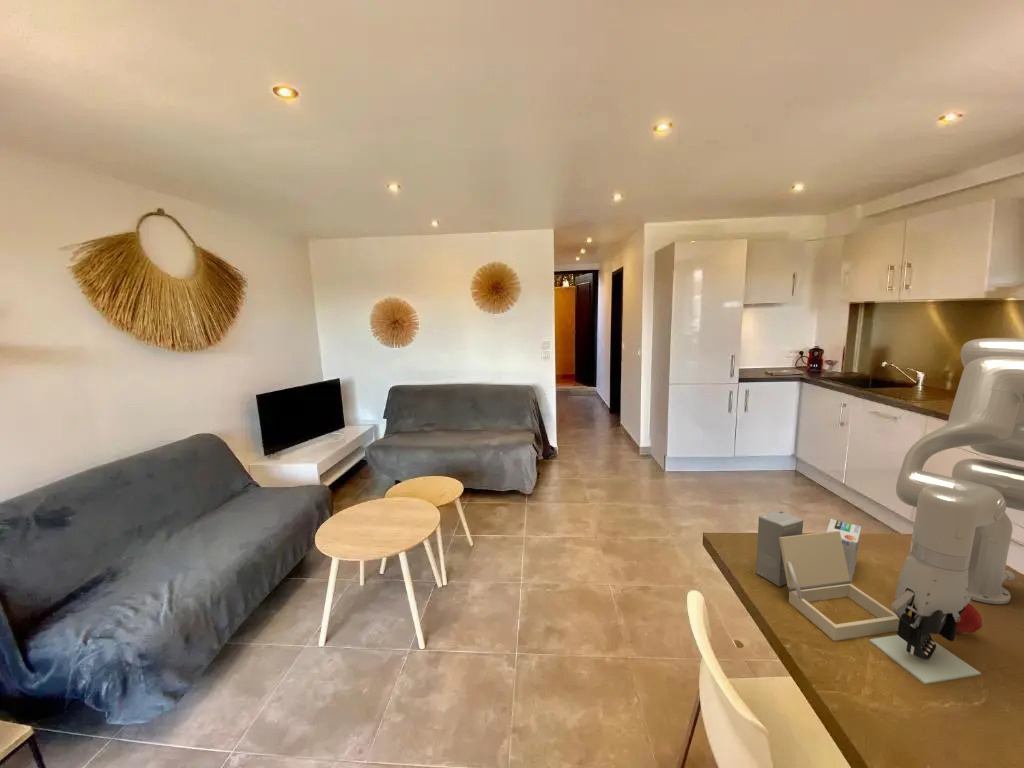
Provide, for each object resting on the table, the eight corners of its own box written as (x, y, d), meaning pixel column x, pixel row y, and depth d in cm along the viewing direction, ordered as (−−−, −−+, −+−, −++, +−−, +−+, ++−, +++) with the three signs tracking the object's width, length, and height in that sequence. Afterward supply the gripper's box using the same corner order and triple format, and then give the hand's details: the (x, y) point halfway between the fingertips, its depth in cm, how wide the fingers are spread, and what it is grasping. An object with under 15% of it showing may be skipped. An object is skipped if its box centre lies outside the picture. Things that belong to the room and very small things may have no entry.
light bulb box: (825, 553, 112) (829, 517, 111) (857, 563, 108) (861, 525, 106) (819, 571, 105) (823, 533, 103) (852, 582, 100) (858, 542, 98)
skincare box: (779, 588, 99) (785, 528, 96) (752, 571, 105) (756, 515, 103) (801, 578, 102) (807, 520, 100) (773, 563, 109) (778, 507, 106)
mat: (919, 633, 84) (919, 631, 84) (980, 674, 75) (980, 672, 74) (869, 640, 83) (869, 639, 83) (924, 684, 73) (924, 682, 73)
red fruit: (931, 626, 86) (937, 592, 85) (945, 618, 88) (951, 585, 87) (970, 646, 81) (977, 611, 79) (984, 637, 83) (991, 602, 82)
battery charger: (932, 666, 75) (941, 612, 73) (904, 652, 78) (913, 600, 76) (942, 649, 79) (951, 596, 77) (915, 636, 82) (923, 585, 80)
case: (830, 582, 101) (836, 529, 98) (899, 630, 85) (909, 570, 83) (774, 589, 99) (778, 536, 96) (834, 640, 83) (841, 578, 81)
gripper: (954, 538, 80) (940, 618, 83) (877, 547, 77) (866, 629, 81) (1004, 561, 72) (987, 647, 76) (921, 572, 70) (907, 661, 73)
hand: (925, 637), depth 78 cm, fingers closed on battery charger, 7 cm apart
